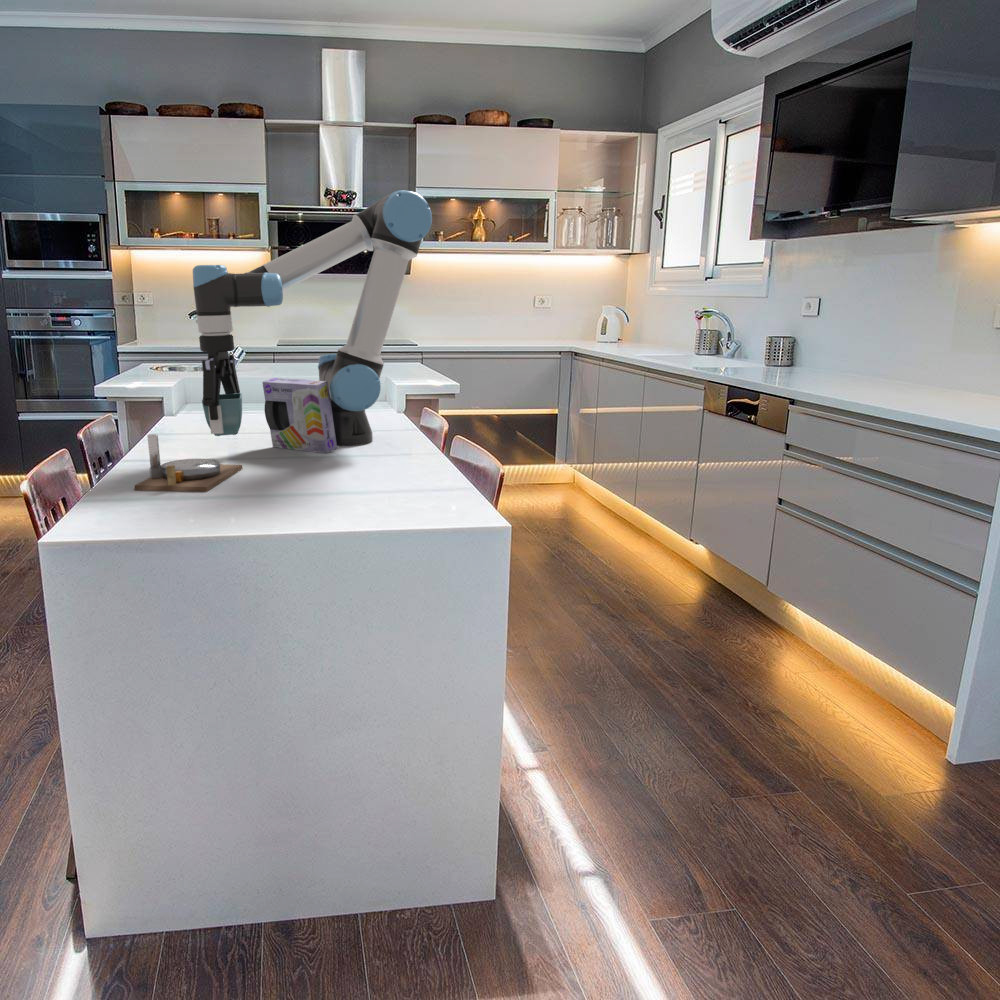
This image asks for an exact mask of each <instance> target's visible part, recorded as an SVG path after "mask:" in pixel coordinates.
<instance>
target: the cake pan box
mask: <svg viewBox="0 0 1000 1000" xmlns="http://www.w3.org/2000/svg"><path fill="white" fill-rule="evenodd" d="M261 383H262V388H263V394H264V399H265V400H264V401H265V402H264V415H265V417H264V418H265V420H266V424H267V426H268V428H269V429H270V430H269V431H270V438H271V445H272V447H273V446H274V447H273V448H276V447H282V448H281V449H284V448H289V449H288V450H293V449H295V450H294V451H302V452H303V451H305V452H313V453H314V452H316V453H323V454H328V453H331V452H333V451H336V450H337V451H338V446H337V443H336V436H335V429H334V422H333V414H332V407H331V400H330V393H329V386H328V381H319V380H315V379H314V380H311V379H304V378H288V377H287V378H283V377H271V378H269V379H266V380H264V381H262V382H261Z"/></svg>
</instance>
